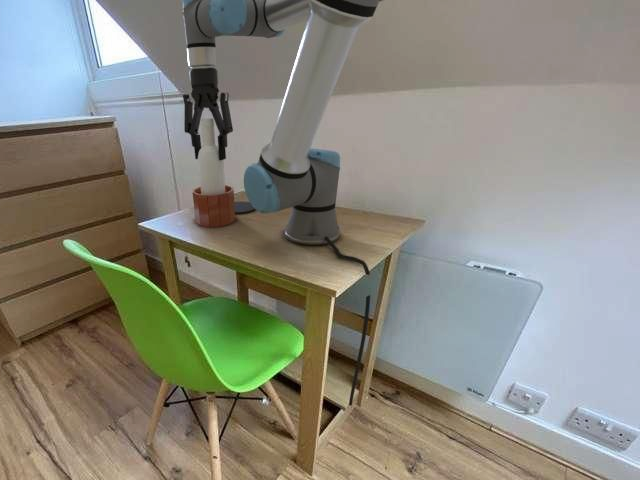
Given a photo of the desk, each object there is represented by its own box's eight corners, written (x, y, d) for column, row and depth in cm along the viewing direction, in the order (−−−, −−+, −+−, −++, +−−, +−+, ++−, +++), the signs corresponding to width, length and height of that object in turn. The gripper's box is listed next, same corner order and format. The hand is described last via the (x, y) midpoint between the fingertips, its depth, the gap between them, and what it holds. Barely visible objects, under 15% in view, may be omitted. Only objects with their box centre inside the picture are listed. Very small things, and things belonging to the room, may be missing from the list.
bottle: (229, 216, 116) (222, 116, 100) (225, 224, 109) (218, 119, 93) (206, 216, 117) (196, 118, 101) (201, 224, 110) (190, 120, 94)
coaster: (263, 208, 121) (263, 207, 121) (232, 216, 116) (232, 214, 115) (243, 201, 131) (243, 199, 130) (214, 207, 125) (214, 206, 125)
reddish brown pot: (242, 221, 111) (241, 190, 106) (207, 230, 106) (204, 197, 100) (222, 211, 121) (220, 182, 115) (189, 219, 115) (185, 189, 110)
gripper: (243, 65, 89) (246, 158, 102) (179, 70, 98) (189, 155, 110) (230, 65, 84) (234, 162, 96) (163, 70, 92) (175, 159, 104)
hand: (210, 158), depth 103 cm, fingers closed on bottle, 8 cm apart
